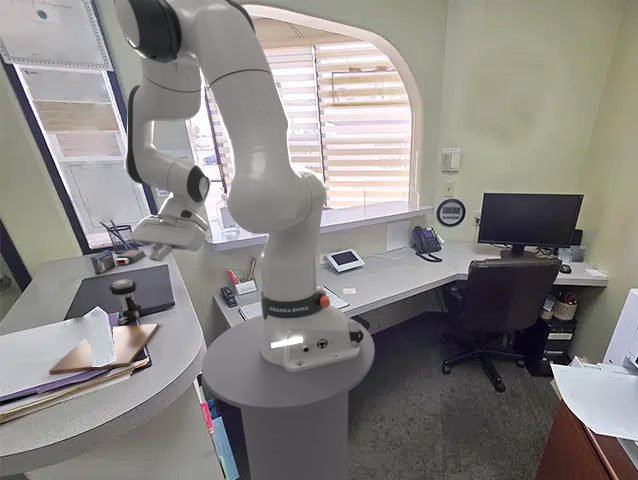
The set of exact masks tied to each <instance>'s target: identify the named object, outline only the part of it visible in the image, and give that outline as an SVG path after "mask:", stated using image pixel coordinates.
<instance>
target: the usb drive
mask: <svg viewBox="0 0 638 480" xmlns="http://www.w3.org/2000/svg"><path fill="white" fill-rule="evenodd" d="M145 253H146V252H145V250H143V249H129V250H127V251H125V252H123V253H121V254H119V255H117V256H116V259H115V260H114V262H115V265H127V264H132V263H135V262H137V261H138V260H140V259H141V258H143V257H145V256H146V254H145Z"/></svg>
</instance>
